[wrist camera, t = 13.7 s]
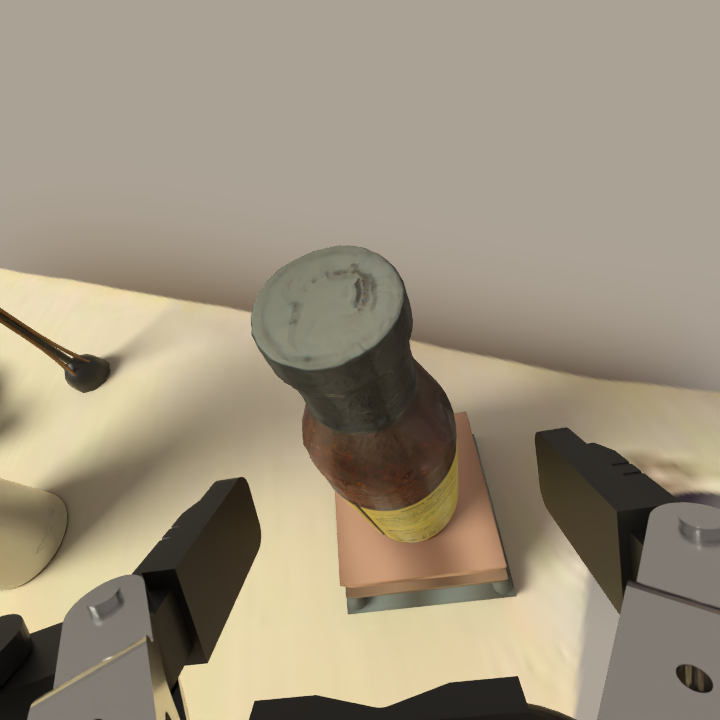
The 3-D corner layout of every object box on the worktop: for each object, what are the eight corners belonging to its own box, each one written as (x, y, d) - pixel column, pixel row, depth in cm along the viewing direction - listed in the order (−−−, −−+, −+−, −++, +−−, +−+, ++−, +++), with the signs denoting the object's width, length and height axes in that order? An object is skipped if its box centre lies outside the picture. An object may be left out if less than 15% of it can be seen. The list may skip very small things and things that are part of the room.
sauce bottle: (471, 472, 26) (521, 240, 9) (434, 566, 23) (416, 477, 7) (383, 434, 28) (300, 197, 12) (342, 516, 26) (165, 360, 9)
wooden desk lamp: (122, 368, 50) (-37, 251, 34) (97, 399, 48) (-85, 291, 32) (92, 356, 52) (-71, 241, 36) (67, 385, 50) (-118, 277, 34)
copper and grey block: (350, 613, 32) (317, 617, 23) (340, 458, 39) (312, 417, 30) (513, 596, 30) (541, 593, 22) (472, 438, 37) (481, 389, 29)
